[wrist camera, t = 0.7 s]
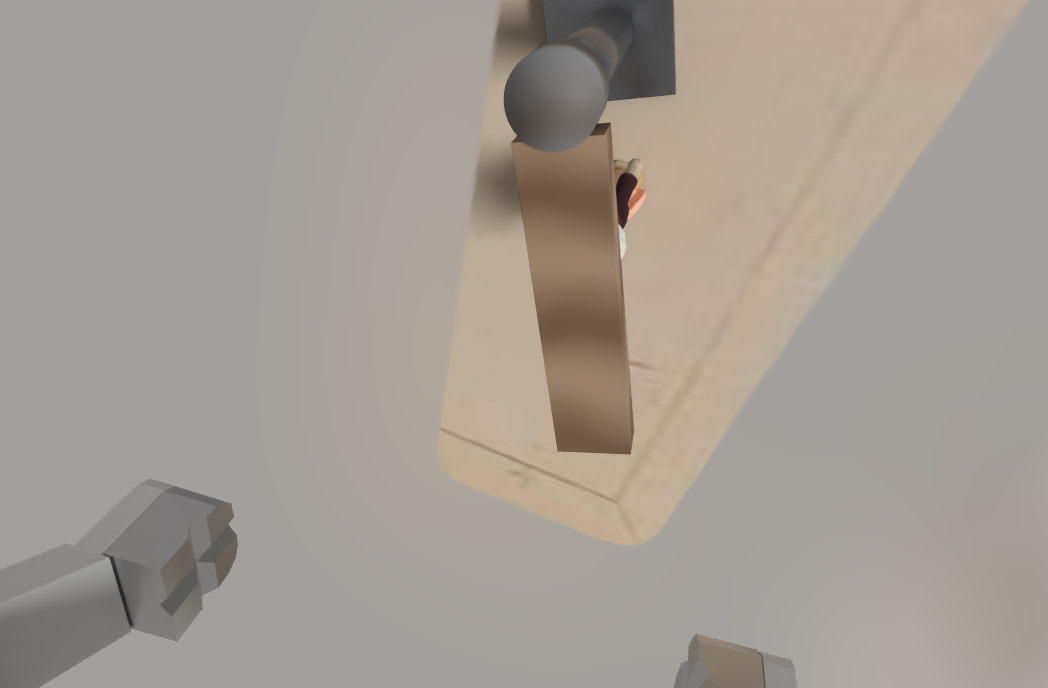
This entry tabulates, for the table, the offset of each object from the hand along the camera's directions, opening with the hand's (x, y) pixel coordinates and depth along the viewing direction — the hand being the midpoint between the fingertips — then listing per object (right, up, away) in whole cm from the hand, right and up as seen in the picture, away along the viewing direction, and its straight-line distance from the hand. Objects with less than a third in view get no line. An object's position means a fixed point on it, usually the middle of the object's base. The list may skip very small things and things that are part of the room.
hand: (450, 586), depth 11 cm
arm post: (+7, +24, +32) cm, 41 cm away
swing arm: (+4, +8, +22) cm, 24 cm away
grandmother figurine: (+8, +16, +37) cm, 41 cm away
